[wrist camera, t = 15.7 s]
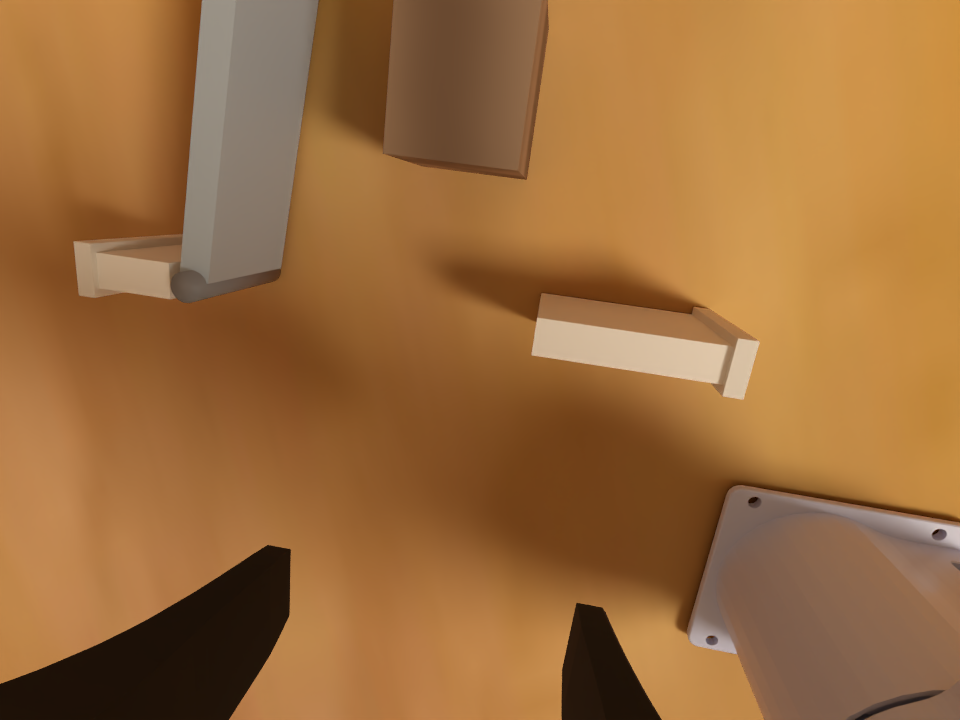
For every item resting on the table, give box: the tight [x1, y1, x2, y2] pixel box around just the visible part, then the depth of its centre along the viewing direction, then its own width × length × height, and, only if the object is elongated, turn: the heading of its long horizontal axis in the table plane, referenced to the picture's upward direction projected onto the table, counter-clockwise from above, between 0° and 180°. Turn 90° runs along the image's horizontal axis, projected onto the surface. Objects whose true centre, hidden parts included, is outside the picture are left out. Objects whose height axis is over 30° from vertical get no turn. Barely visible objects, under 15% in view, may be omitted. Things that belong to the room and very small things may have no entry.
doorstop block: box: [383, 0, 549, 180], centre depth 17 cm, size 4×5×5 cm
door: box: [171, 0, 319, 303], centre depth 18 cm, size 11×2×5 cm, turn 166°
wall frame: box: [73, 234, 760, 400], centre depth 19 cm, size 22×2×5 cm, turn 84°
